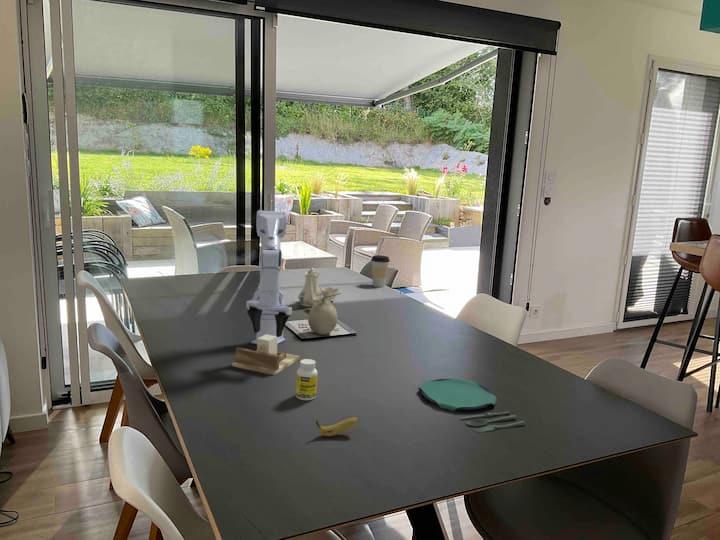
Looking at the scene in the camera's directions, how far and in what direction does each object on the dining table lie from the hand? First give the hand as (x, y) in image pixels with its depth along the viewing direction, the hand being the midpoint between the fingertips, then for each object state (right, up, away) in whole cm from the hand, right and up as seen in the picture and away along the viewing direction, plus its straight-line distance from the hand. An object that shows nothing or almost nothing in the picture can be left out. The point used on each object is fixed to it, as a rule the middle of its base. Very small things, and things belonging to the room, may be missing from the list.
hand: (267, 334), depth 177 cm
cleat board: (-1, -9, +2) cm, 9 cm away
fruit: (+14, -4, +34) cm, 37 cm away
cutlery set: (+56, -17, -20) cm, 62 cm away
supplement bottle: (+13, -14, -22) cm, 29 cm away
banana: (+22, -19, -42) cm, 51 cm away
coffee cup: (+37, +11, +122) cm, 128 cm away
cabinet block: (0, -8, +1) cm, 8 cm away
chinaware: (+9, +4, +76) cm, 76 cm away
